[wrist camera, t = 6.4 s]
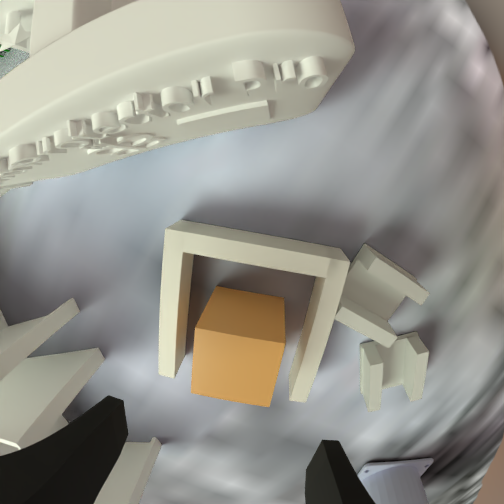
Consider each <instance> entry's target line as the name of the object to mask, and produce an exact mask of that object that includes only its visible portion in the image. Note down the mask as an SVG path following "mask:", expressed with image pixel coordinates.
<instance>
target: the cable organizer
mask: <svg viewBox="0 0 504 504" xmlns="http://www.w3.org/2000/svg"><path fill="white" fill-rule="evenodd" d="M0 44H1V47H0V52H1V51H3V50H5V49H8V48H10V47H12V48H15V49H18V50H22V51H25V52H28V53H30V56H29V58H28V59H27V60H25V61H24V62H22V63H21V64H20V65H18V66H17V67H15V68H14V69H13V70H11V71H10V72H9V73H7V74H6V75H5V76H4V77H2V78H1V79H0V186H6V185H12V184H18V183H24V182H31V181H38V180H45V179H52V178H59V177H65V176H69V175H73V174H77V173H81V172H84V171H87V170H90V169H93V168H96V167H99V166H102V165H105V164H108V163H111V162H114V161H117V160H120V159H123V158H126V157H130V156H133V155H136V154H139V153H143V152H146V151H150V150H153V149H157V148H161V147H164V146H168V145H172V144H176V143H180V142H183V141H188V140H192V139H196V138H200V137H204V136H209V135H213V134H218V133H223V132H227V131H232V130H237V129H243V128H248V127H253V126H259V125H265V124H271V123H276V122H281V121H285V120H289V119H293V118H297V117H300V116H304V115H306V114H309V113H311V112H313V111H314V110H316V109H317V107H318V106H319V104H320V103H321V101H322V100H323V98H324V97H325V95H326V94H327V93H328V91H329V90H330V88H331V87H332V85H333V84H334V82H335V81H336V79H337V78H338V76H339V75H340V74H341V72H342V71H343V69H344V68H345V66H346V65H347V63H348V62H349V61H350V59H351V58H352V56H353V55H354V52H355V45H354V42H353V38H352V35H351V32H350V29H349V25H348V22H347V19H346V16H345V13H344V10H343V7H342V4H341V2H340V0H0Z"/></svg>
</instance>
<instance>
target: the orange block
mask: <svg viewBox="0 0 504 504" xmlns="http://www.w3.org/2000/svg"><path fill="white" fill-rule="evenodd" d="M285 344H286V340H285V305H284V298H283V297H277V296H270V295H264V294H258V293H253V292H247V291H241V290H235V289H230V288H224V287H218V286H216V287H215V289H214V291H213V293H212V295H211V297H210V299H209V301H208V303H207V305H206V307H205V309H204V311H203V313H202V315H201V317H200V319H199V321H198V323H197V325H196V327H195V335H194V349H193V365H192V381H191V393H194V394H199V395H203V396H208V397H213V398H218V399H223V400H229V401H234V402H240V403H246V404H252V405H259V406H266V407H269V406H270V402H271V398H272V395H273V391H274V387H275V383H276V380H277V376H278V372H279V368H280V364H281V360H282V356H283V352H284V348H285Z"/></svg>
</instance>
